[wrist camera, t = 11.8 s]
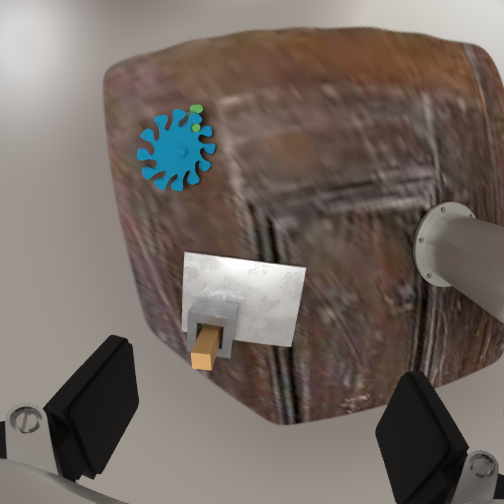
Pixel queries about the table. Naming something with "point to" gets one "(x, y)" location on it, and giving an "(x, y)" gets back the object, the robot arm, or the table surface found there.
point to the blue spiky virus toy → (177, 148)
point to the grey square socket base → (240, 299)
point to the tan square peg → (206, 347)
